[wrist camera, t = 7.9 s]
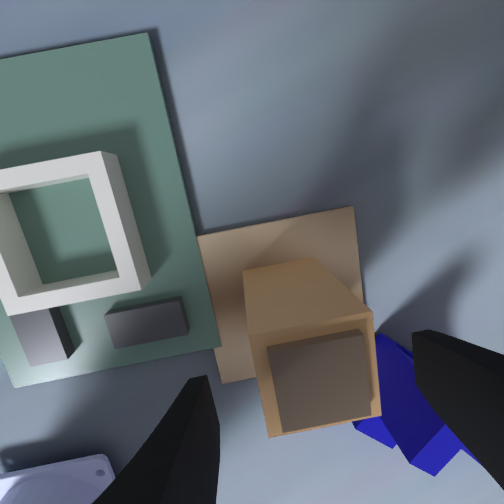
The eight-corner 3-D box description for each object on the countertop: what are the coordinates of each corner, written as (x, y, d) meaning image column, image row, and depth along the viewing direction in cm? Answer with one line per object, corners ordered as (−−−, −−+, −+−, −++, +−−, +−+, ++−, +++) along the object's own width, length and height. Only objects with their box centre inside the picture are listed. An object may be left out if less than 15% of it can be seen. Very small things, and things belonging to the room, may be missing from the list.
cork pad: (365, 350, 18) (369, 354, 18) (222, 379, 18) (222, 384, 18) (350, 205, 16) (353, 206, 16) (187, 237, 16) (186, 238, 15)
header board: (221, 342, 17) (219, 365, 15) (20, 382, 17) (-12, 412, 15) (150, 37, 14) (134, 9, 11) (-108, 85, 13) (-177, 65, 11)
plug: (322, 322, 17) (387, 424, 10) (255, 335, 17) (270, 448, 10) (314, 257, 16) (378, 316, 9) (242, 270, 16) (248, 342, 9)
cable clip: (334, 388, 18) (386, 488, 12) (380, 332, 17) (458, 409, 12) (465, 462, 21) (559, 573, 15) (510, 415, 20) (627, 513, 14)
